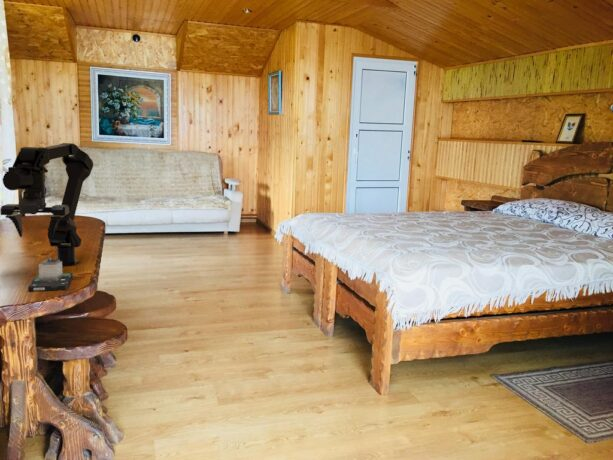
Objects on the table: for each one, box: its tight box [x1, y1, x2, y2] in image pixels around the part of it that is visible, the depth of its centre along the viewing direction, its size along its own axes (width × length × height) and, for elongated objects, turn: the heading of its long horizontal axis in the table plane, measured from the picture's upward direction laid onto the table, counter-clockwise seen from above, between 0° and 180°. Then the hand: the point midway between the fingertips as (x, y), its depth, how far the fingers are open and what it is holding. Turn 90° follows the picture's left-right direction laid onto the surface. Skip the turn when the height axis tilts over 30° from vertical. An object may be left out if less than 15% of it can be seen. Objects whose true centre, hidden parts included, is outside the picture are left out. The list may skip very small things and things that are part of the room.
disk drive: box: [27, 272, 73, 293], centre depth 162 cm, size 10×3×15 cm
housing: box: [38, 257, 63, 281], centre depth 162 cm, size 5×5×6 cm
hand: (36, 236), depth 172 cm, fingers open, 9 cm apart
